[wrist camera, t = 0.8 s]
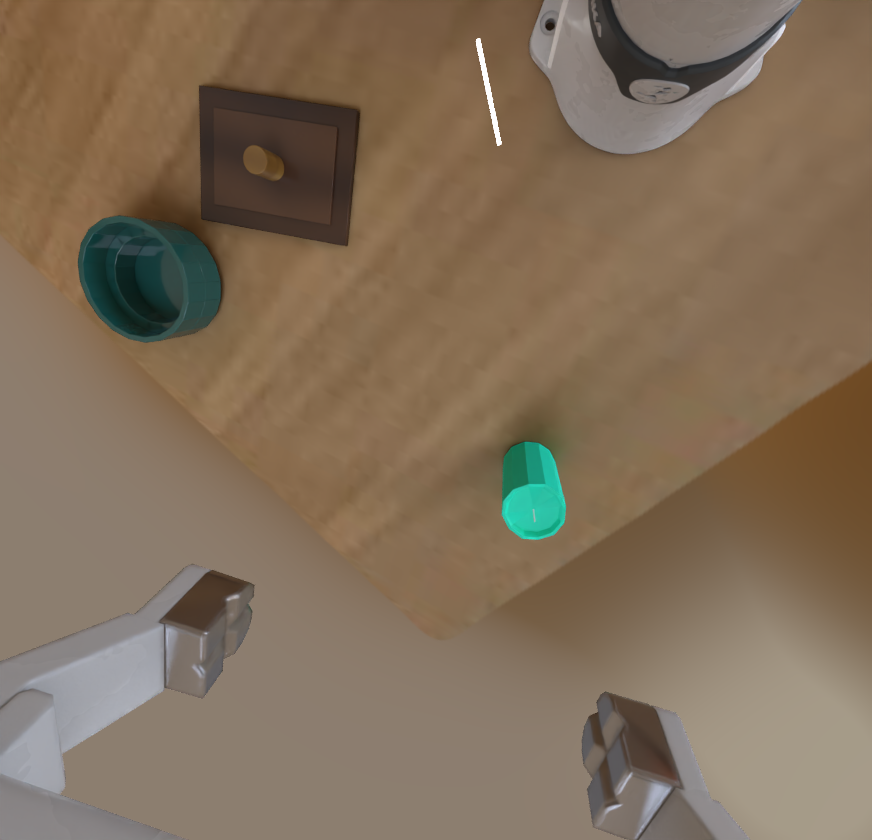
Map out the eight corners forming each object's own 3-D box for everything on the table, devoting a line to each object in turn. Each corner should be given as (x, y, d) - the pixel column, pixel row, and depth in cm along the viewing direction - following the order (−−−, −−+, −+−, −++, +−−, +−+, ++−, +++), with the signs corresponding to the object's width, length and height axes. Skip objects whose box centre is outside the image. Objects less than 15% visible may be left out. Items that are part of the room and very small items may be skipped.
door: (204, 88, 43) (172, 69, 39) (360, 112, 42) (343, 95, 38) (206, 220, 47) (177, 215, 43) (347, 246, 46) (331, 244, 42)
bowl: (121, 213, 48) (71, 206, 43) (224, 232, 47) (186, 227, 42) (129, 323, 53) (85, 329, 47) (224, 343, 52) (189, 352, 46)
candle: (543, 495, 52) (553, 558, 41) (495, 478, 52) (491, 536, 41) (563, 451, 50) (579, 505, 38) (513, 434, 50) (514, 482, 39)
